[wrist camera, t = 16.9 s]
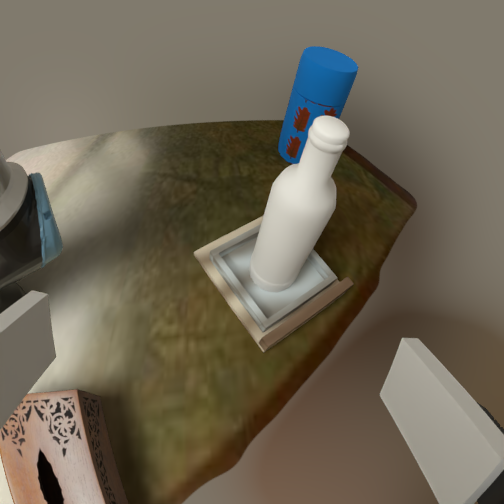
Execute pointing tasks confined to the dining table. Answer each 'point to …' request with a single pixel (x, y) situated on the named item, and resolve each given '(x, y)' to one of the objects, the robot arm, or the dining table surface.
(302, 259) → the bottle
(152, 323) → the dining table surface
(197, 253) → the tray
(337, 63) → the thermos
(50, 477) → the tissue box cover
